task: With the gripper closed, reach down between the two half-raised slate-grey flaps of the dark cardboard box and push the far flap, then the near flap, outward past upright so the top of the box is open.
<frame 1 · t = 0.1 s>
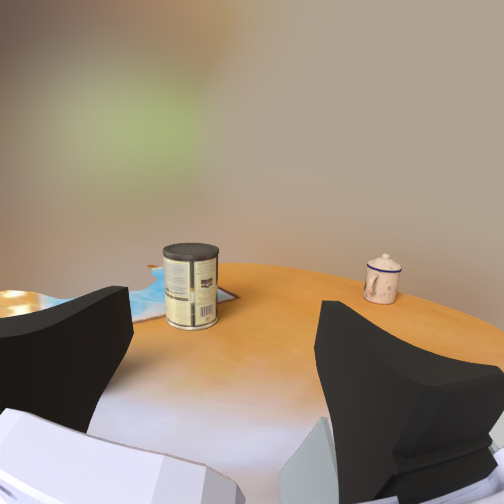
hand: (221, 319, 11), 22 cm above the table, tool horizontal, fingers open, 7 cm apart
coffee can: (191, 319, 59), on the table
teacup with lid: (376, 300, 72), on the table
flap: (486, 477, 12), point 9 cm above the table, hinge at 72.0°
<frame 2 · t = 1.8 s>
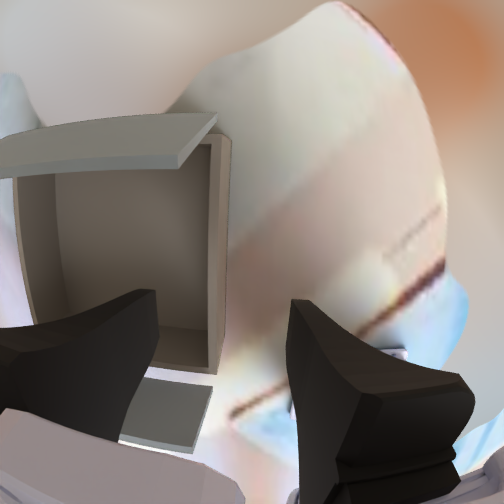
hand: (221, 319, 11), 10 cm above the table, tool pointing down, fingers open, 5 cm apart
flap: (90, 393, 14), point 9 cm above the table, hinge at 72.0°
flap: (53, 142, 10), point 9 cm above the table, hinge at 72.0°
carton: (131, 239, 21), on the table
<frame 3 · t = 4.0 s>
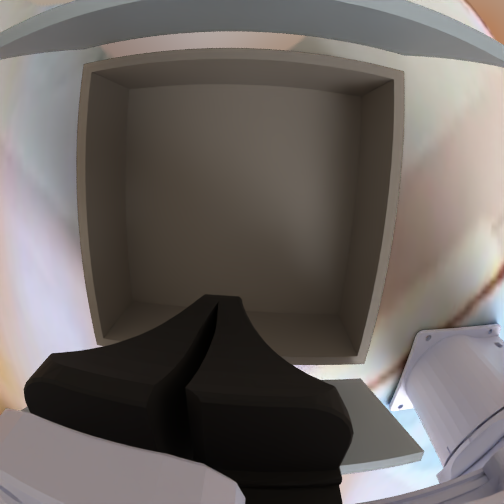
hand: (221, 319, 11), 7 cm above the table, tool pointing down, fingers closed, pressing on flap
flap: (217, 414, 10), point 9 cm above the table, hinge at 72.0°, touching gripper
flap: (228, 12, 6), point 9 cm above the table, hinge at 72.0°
carton: (237, 200, 17), on the table
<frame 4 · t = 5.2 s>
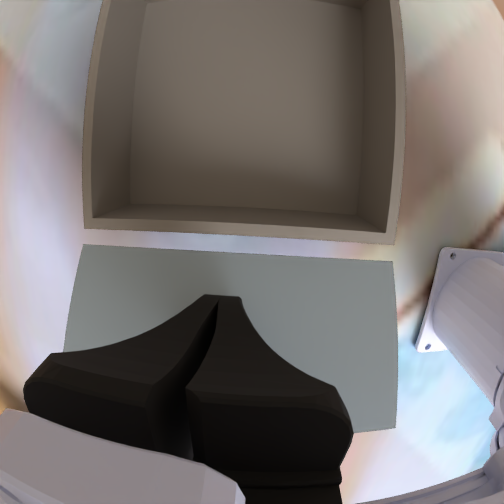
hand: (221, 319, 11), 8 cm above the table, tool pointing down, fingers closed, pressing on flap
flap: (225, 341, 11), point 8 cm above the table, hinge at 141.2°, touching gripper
carton: (247, 92, 15), on the table
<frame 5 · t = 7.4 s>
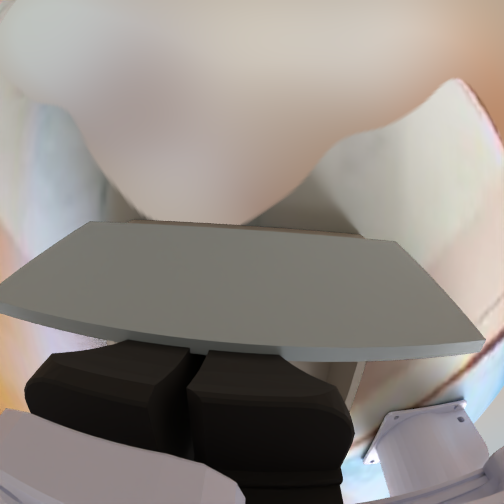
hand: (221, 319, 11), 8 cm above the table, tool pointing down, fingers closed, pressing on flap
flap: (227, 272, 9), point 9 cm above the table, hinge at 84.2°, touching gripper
carton: (239, 330, 20), on the table
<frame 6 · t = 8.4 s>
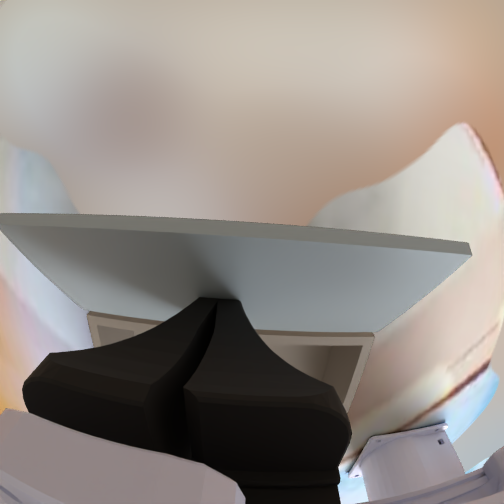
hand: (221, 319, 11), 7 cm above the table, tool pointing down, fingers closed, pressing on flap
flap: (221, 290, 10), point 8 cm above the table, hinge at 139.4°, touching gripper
carton: (230, 373, 20), on the table
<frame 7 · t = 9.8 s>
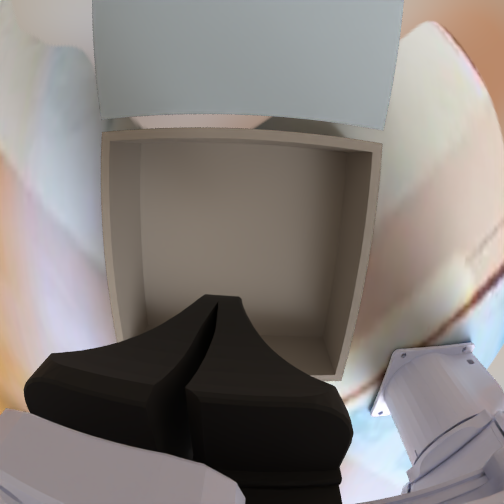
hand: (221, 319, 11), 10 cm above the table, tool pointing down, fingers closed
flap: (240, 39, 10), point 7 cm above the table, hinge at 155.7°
carton: (237, 244, 20), on the table
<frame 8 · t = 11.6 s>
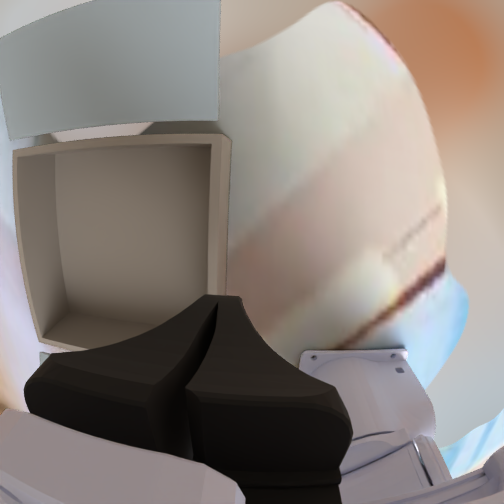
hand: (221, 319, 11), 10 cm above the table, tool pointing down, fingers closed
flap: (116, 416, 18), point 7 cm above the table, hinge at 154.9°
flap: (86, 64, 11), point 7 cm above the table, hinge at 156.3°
carton: (131, 239, 21), on the table
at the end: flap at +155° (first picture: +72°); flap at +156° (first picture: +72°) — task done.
